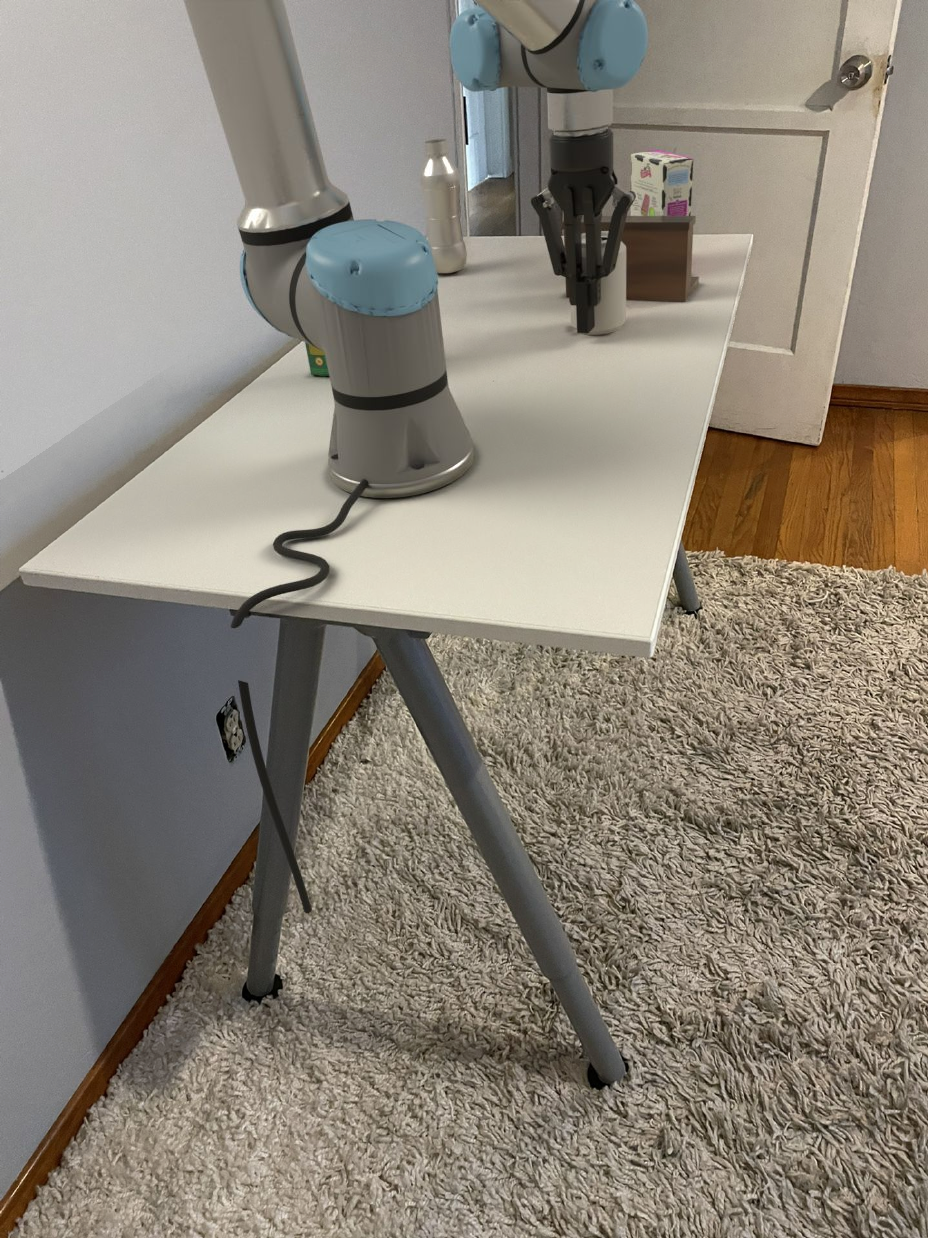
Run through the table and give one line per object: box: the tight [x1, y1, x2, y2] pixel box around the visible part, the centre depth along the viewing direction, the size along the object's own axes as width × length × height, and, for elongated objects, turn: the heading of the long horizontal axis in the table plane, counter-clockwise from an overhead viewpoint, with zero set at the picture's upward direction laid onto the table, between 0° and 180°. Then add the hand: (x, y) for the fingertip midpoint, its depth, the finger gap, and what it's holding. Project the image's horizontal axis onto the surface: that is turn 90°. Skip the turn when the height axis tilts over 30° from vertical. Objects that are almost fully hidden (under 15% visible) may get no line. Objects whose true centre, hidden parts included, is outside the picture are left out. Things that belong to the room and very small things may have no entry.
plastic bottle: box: [418, 138, 468, 274], centre depth 149 cm, size 6×7×20 cm
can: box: [569, 231, 627, 336], centre depth 122 cm, size 8×8×12 cm
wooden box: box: [561, 215, 700, 303], centre depth 134 cm, size 8×18×11 cm, turn 65°
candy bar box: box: [629, 149, 694, 216], centre depth 139 cm, size 11×5×16 cm, turn 17°
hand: (585, 329), depth 121 cm, fingers closed
